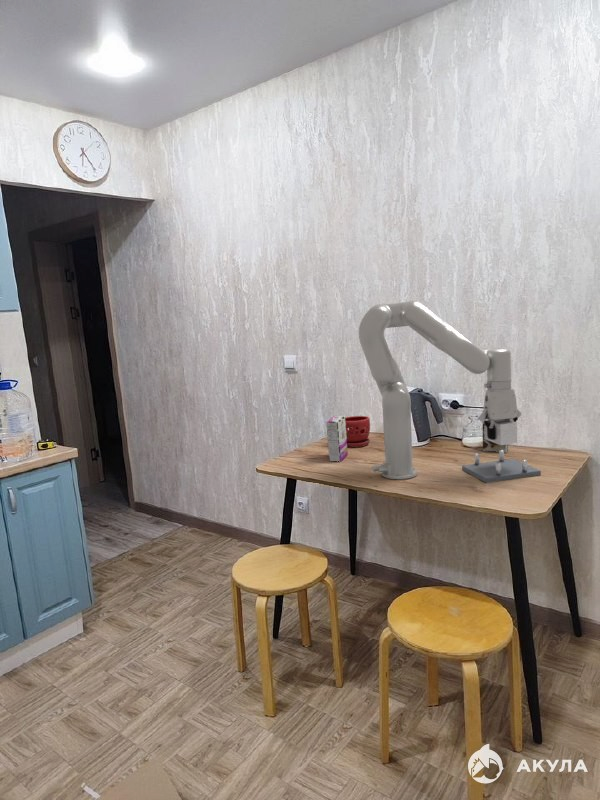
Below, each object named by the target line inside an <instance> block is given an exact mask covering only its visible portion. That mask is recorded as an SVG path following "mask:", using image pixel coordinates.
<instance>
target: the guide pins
mask: <svg viewBox="0 0 600 800" xmlns="http://www.w3.org/2000/svg"><path fill="white" fill-rule="evenodd" d="M498 453H499V454H498V457H499V458H498V459H499V460H498V461H499V462H504V460H505V453H504V450H499V452H498ZM480 463H481V462H480V453H479V452H475V453H474V464H475V465H480ZM521 463H522V472H527V465H528V460H527V459H522V460H521ZM496 476H501V463H496Z"/></svg>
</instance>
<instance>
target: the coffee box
mask: <svg viewBox="0 0 600 800" xmlns="http://www.w3.org/2000/svg"><path fill="white" fill-rule="evenodd" d="M483 411H484V409H483V410H482V412H483ZM485 419H487V418H485ZM499 450H504V452H506V453H507V452H508V451H507V450H509V444H506V445H499V444H496V443H494V442H491V441H488V440H486V439H484V424H483V423H482V451H483V452H488V451H496V452H495V453H499Z"/></svg>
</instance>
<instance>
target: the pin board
mask: <svg viewBox="0 0 600 800" xmlns="http://www.w3.org/2000/svg"><path fill="white" fill-rule="evenodd" d="M496 463H501V476H496ZM461 470H462V471H463V472H465V473H467V474H469V475H470V476H472V477H475V478H477V479H479V480H480V481H482V482H484V483H486V484H487V483H494V482H501V481H508V480H516V479H523V478H529V477H536V476H537V477H538V476H542V475H541V474H542V471H541V469H537V468H535V467H532V465H529V464H527V472H522V461H519V460H517V459H515V458H510V459H504V462H499V460H494V461H487V462H480V465H475V463H471V464H465V465H461Z"/></svg>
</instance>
